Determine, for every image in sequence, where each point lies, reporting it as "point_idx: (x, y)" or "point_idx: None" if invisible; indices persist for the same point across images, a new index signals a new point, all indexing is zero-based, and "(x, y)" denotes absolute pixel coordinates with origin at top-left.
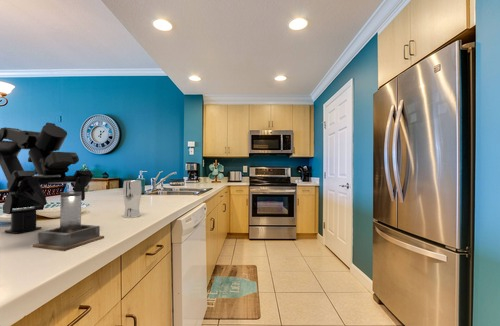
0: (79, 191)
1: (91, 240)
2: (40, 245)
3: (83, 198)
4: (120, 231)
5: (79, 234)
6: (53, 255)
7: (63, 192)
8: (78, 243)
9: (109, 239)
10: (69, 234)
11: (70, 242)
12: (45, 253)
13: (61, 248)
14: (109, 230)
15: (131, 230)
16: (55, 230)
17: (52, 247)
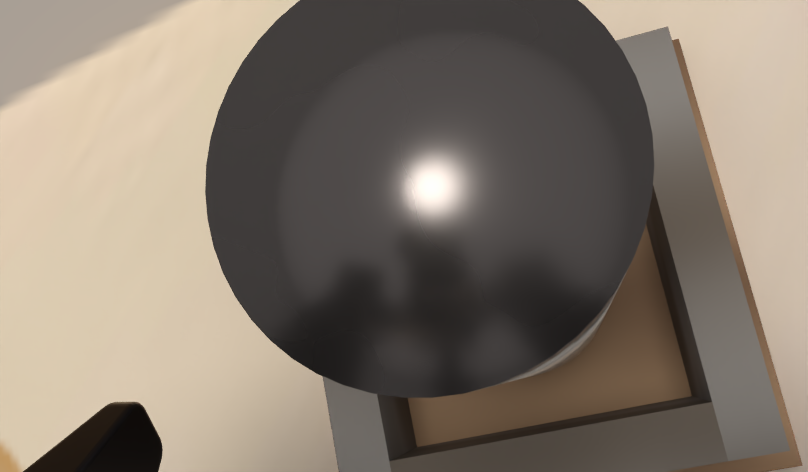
0: (213, 200)
1: None
2: (766, 348)
3: (136, 403)
4: (93, 243)
5: None
6: (776, 5)
7: (555, 275)
8: None
9: None
10: (625, 41)
11: None
12: (795, 122)
13: (688, 74)
14: (107, 386)
15: (32, 182)
16: (612, 418)
17: (719, 183)
